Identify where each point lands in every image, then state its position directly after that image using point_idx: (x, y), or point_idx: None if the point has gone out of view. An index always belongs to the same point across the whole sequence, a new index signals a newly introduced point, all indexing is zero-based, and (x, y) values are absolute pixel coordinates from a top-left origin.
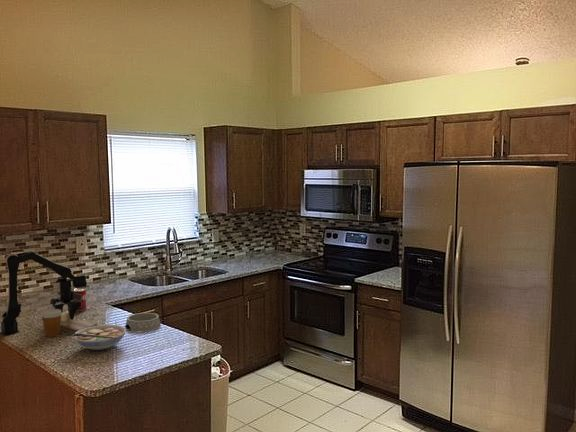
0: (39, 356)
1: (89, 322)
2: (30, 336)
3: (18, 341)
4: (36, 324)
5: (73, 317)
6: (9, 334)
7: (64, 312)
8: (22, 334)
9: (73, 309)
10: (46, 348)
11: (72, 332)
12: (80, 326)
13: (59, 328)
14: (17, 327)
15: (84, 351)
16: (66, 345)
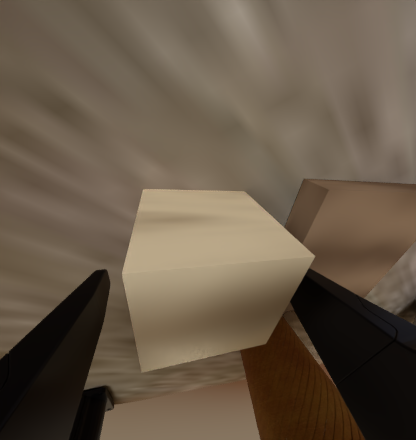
0: (321, 362)
1: (404, 200)
2: (198, 365)
3: (206, 382)
4: (8, 337)
5: None
6: (113, 402)
7: (165, 328)
8: (149, 378)
9: (407, 374)
10: (312, 352)
11: None
12: (365, 269)
13: (303, 344)
14: (80, 415)
15: (403, 316)
16: None
